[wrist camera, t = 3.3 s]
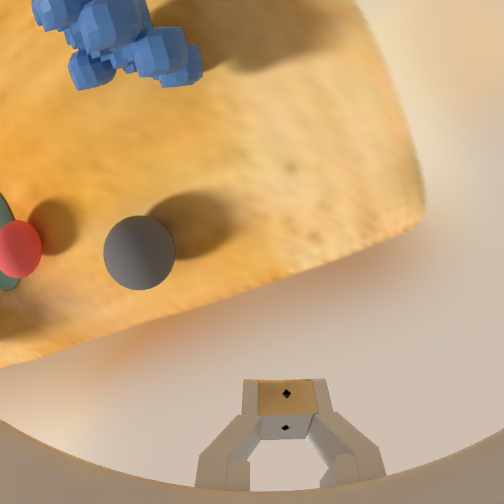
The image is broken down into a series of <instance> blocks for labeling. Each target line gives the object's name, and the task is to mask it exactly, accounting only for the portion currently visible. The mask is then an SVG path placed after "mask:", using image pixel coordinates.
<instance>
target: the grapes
mask: <svg viewBox="0 0 504 504" xmlns="http://www.w3.org/2000/svg"><path fill="white" fill-rule="evenodd" d="M31 4H32V11H33V14H34V17H35V19H36V22H37V24H38V26H41V25H43V27H44V29H45V32H46V31H50V30H54V29H57V30H58V32H61V31H64V33H65V38H66V40H67V43H68V45H70V44H71V45H72V47H73V49H77V48H78V49H79V51H77V52H75V53H73V54H72V56H71V58H70V61H69V65H68V68H69V72H70V75H71V78H72V80H73V82H74V84H75V86H76V88H77V90H78V91H79V90H85V89H90V88H94V87H98V86H101V85H104V84H106V83H108V82H110V81H111V80H113V78H114V76H115V73H116V69H117V68H123V69H124V71H126V74H127V73H133V72H138V73H139V76H140V77H153V79H154V80H160V82H161V85H162V87H178V86H185V85H192V84H194V83H195V82H196V81H198V80H199V79H200V78H202V76H203V61H202V58H201V54H200V51H199V48H198V45H197V44H187V41H186V37H185V34H184V31H183V28H182V26H156V27H153V24H152V21H151V20H150V13H149V10H148V7H147V4H146V1H145V0H32V2H31Z"/></svg>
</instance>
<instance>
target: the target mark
mask: <svg viewBox="0 0 504 504" xmlns="http://www.w3.org/2000/svg"><path fill="white" fill-rule="evenodd" d="M11 221H14V219H13V217H12V214H11V212H10V210H9V208H8V206H7V204H6V203H5V201H4V199H3V198H2V196H1V195H0V229H1V228H2V227H3V226H4V225H6V224H7V223H9V222H11ZM19 280H20V278H13V277H10V276H8V275H6V274H5V273H3V272H2V270H1V269H0V289H1V290H10V289H13V288H14V287H15V286H16V285H17V284H18V282H19Z"/></svg>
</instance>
